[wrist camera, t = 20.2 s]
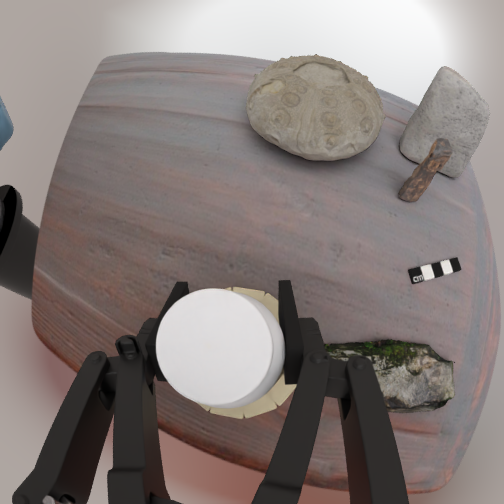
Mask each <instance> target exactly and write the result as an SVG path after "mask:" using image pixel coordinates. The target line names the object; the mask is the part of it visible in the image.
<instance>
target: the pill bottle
mask: <svg viewBox="0 0 504 504" xmlns="http://www.w3.org/2000/svg"><path fill="white" fill-rule="evenodd" d="M285 350H286V349H285V341H284V336H283V333H282V330H281V328H280V326H279V324H278V322H277V320H276V318H275V317H274V316H273V314H272V313H271V312H270V311H269V310H268V309H267V308H266V307H265V306H264V305H263V304H262V303H260V302H259V301H257V300H256V299H254V298H252V297H250V296H248V295H245V294H242V293H238V292H233V291H229V290H225V289H215V288H211V289H203V290H198V291H195V292H192V293H190V294H188V295H186V296H184V297H182V298H181V299H179V300H178V301H177V302H176V303H174V304H173V306H172V307H171V308H170V309H169V310H168V311H167V313H166V314H165V316H164V317H163V319H162V321H161V323H160V326H159V329H158V333H157V338H156V354H157V360H158V363H159V366H160V369H161V371H162V373H163V375H164V376H165V378H166V380H167V381H168V382H169V384H170V385H171V386H172V387H173V388H174V389H175V390H176V391H177V392H179V393H180V394H181V395H183V396H184V397H186V398H188V399H190V400H192V401H195V402H198V403H201V404H205V405H207V406H211V407H215V408H226V409H229V408H237V407H242V406H245V405H248V404H250V403H253V402H255V401H256V400H258V399H260V398H261V397H263V396H264V395H265V394H266V393H267V392H268V391H269V390H270V389H271V388H272V387H273V386H274V384H275V383H276V381H277V380H278V378H279V376H280V374H281V372H282V369H283V365H284V361H285Z"/></svg>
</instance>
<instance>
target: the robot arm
mask: <svg viewBox="0 0 504 504" xmlns="http://www.w3.org/2000/svg"><path fill="white" fill-rule="evenodd" d="M12 134H13V124H12V121H11V119H10V117H9V115H8V112H7V110H6V108H5V106H4V103H3V101H2V99H1V97H0V150H1V149H2V147H3V146H4V145H5V143H6V142H7V141H8V140H9V139H10V138H11V136H12ZM4 215H5V206H4V203H3V202H2V201H1V200H0V232H1V229H2V225H3V221H4ZM188 294H189V289H188V282H177V283H176V284H175V286H174V288H173V290H172V292H171V294H170V296H169V298H168V299H167V301H166V303H165V305H164V307H163V309H162V311H161V313H160V315H159V317H158V318H149V319H148V320H147V321H146V322H144V324H143V326H142V327H141V329H140V331H139V334H138V335H137V337H136V336H133V335H125V336H122V337H120V338H119V339H118V340H117V341H116V343H115V345H116V348H117V350H118V353H119V355H120V356H116V357H107V355H106V354H105V353H104V352H102V351H95V352H92V353H91V354H89V355H88V356H87V358H86V359H85V361H84V363H83V365H82V367H81V368H80V370H79V372H78V374H77V376H76V378H75V380H74V382H73V383H72V385H71V387H70V389H69V391H68V393H67V395H66V397H65V399H64V401H63V403H62V405H61V407H60V409H59V412H58V414H57V416H56V418H55V420H54V422H53V424H52V427H51V429H50V431H49V434H48V436H47V438H46V440H45V443H44V445H43V448H42V450H41V453H40V455H39V458H38V460H37V463H36V465H35V468H34V470H33V471H32V472H31V473H30V475H29V476H28V477H27V478H26V479H25V480H24V481H23V483H22V484H21V485H20V486H19V487H18V489H17V490H16V491H15V492H14V494H13V496H12V502H13V504H86V503H87V501H88V499H89V496H90V492H91V489H92V485H93V481H94V477H95V473H96V469H97V466H98V463H99V459H100V456H101V452H102V449H103V446H104V442H105V439H106V436H107V433H108V430H109V427H110V424H111V421H112V418H113V415H114V429H113V468H112V469H111V470H109V471H108V475H107V483H108V502H109V504H181V503H179V502H176V501H174V500H171V499H170V496H169V494H168V492H167V490H166V486H165V481H164V474H163V467H162V460H161V452H160V443H159V434H158V423H157V411H156V395H155V384H154V381H153V379H154V376H155V375H156V377H157V380H158V381H166V382H168V381H167V380H166V378H165V376H164V375H163V373H162V371H161V369H160V366H159V363H158V360H157V354H156V338H157V333H158V329H159V326H160V323H161V321H162V319H163V317H164V316H165V314H166V313H167V311H168V310H169V309H170V308H171V307H172V306H173V304H174V303H176V302H177V301H178V300H179V299H181V298H182V297H184V296H186V295H188ZM278 318H279V326H280V328H281V330H282V333H283V336H284V341H285V349H286V350H285V361H284V365H283V368H284V379H285V385H293V384H297V385H296V388H295V392H294V395H293V398H292V401H291V404H290V408H289V411H288V414H287V417H286V420H285V423H284V426H283V429H282V432H281V434H280V437H279V440H278V443H277V446H276V448H275V451H274V454H273V457H272V459H271V462H270V464H269V467H268V470H267V472H266V475H265V477H264V480H263V481H262V482H261V484H260V485H259V488H258V490H257V492H256V494H255V496H254V499H253V501H252V504H297V503H298V500H299V497H300V494H301V489H302V486H303V482H304V479H305V476H306V472H307V469H308V465H309V461H310V458H311V454H312V450H313V446H314V442H315V438H316V434H317V430H318V426H319V421H320V417H321V412H322V407H323V402H324V397H325V396H327V397H334V398H338V404H339V410H340V417H341V424H342V431H343V438H344V446H345V454H346V463H347V472H348V482H349V493H350V504H409V501H408V496H407V490H406V485H405V480H404V475H403V471H402V466H401V462H400V457H399V453H398V449H397V445H396V441H395V437H394V433H393V430H392V426H391V422H390V419H389V415H388V411H387V408H386V405H385V401H384V398H383V395H382V391H381V388H380V385H379V382H378V379H377V376H376V372H375V369H374V366H373V363H372V362H371V360H370V359H369V358H368V357H366V356H363V355H354V356H352V357H350V358H349V359H348V360H347V361H342V360H337V359H334V358H332V357H331V356H330V355H329V353H327V352H326V350H325V346H324V343H323V339H322V336H321V333H320V330H319V326H318V322H317V321H316V320H315V319H314V318H298V315H297V310H296V305H295V300H294V296H293V291H292V286H291V282H290V280H280V281H279V294H278Z"/></svg>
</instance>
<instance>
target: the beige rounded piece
mask: <svg viewBox="0 0 504 504" xmlns="http://www.w3.org/2000/svg"><path fill="white" fill-rule="evenodd" d="M246 110H247V115H248V118H249V121H250V124H251V126H252V128H253V129H254V130H255V131H256V132H257V133H258V134H259V135H260V136H262V137H263V138H264V139H265V140H267V141H268V142H270V143H273V144H275V145H277V146H279V147H280V148H281V149H284V150H286V151H288V152H289V153H291V154H295V155H299V156H301V157H303V158H305V159H308V160H315V161H318V160H325V161H334V160H339V159H343V158H344V159H346V158H349V157H351V156H353V155H356V154H358V153H360V152H362V151H364V150H365V149H367V148H368V147H369V146H370V145H371V144H372V143H373V142H374V141H375V139H376V138H377V136H378V134H379V132H380V129H381V126H382V124H383V120H384V119H385V117H386V116H385V114H384V113H383V105H382V102H381V98H380V97H379V95H378V93H377V91H376V89H375V87H374V86H373V84H372V83H371V82H369V81H368V77H367V76H364V75H362V74H361V73H359V72H357V71H356V70H355V69H352V68H350V67H349V66H347V65H345V64H343V63H342V62H341V61H336V60H334V59H330V58H326V57H322V56H318V55H317V54H315V55H314V56H299V57H292V56H291V57H290V58H288V59H285V58H281V59H280V60H279V61H277V62H275V63H273V64H271V65H269V66H268V67H267V68H265V69H264V70H263V71H262V72H261V73H260V74H255V80H254V81H253V82H252V83H251V85H250V87H249V92H248V95H247V103H246Z"/></svg>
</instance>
